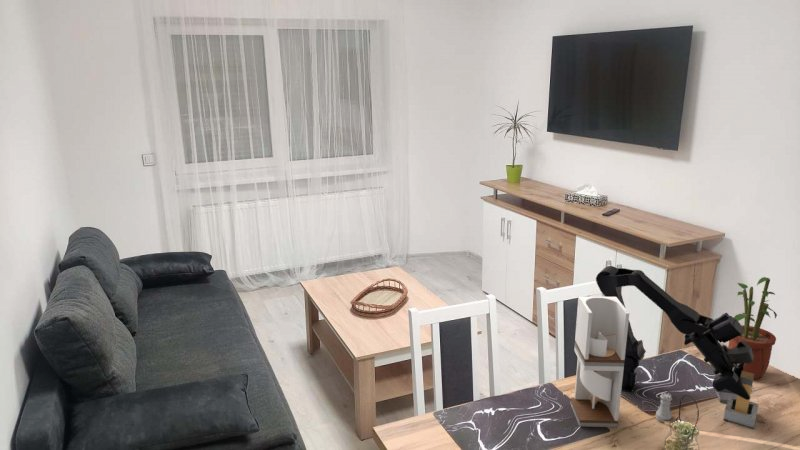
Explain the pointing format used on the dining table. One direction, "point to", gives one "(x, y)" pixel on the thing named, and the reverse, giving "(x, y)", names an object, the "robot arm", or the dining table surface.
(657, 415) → the rook chess piece
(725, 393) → the charcoal tray
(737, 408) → the amber plug
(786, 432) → the dining table surface
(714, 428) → the dining table surface
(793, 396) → the dining table surface
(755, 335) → the potted plant
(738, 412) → the steel socket block
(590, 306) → the curved tiered shelf
